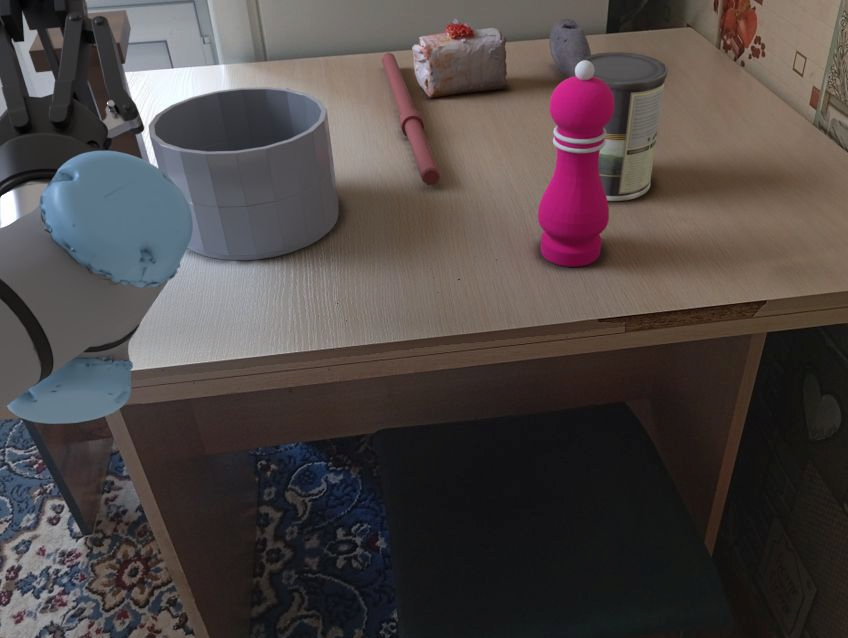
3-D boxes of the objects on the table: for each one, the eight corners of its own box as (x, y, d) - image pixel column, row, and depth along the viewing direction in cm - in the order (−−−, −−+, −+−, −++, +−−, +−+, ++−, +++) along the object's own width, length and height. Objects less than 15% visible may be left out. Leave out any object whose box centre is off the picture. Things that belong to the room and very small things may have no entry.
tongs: (14, -32, 64) (10, -20, 62) (56, -35, 64) (53, -24, 63) (79, 145, 75) (78, 159, 73) (115, 141, 75) (114, 154, 74)
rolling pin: (444, 187, 96) (443, 163, 94) (418, 190, 95) (417, 166, 93) (398, 68, 131) (397, 48, 129) (379, 69, 130) (378, 50, 128)
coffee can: (575, 204, 92) (584, 84, 83) (559, 166, 100) (566, 53, 91) (661, 199, 92) (680, 79, 84) (638, 162, 100) (653, 49, 92)
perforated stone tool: (597, 90, 121) (601, 43, 117) (564, 92, 121) (566, 45, 117) (576, 59, 133) (580, 16, 129) (546, 60, 133) (548, 17, 128)
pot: (157, 263, 83) (125, 156, 75) (197, 185, 97) (174, 89, 90) (330, 257, 83) (315, 150, 76) (345, 181, 97) (333, 85, 90)
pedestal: (104, 199, 94) (44, 16, 82) (173, 190, 96) (125, 9, 83) (97, 248, 85) (28, 51, 72) (173, 237, 87) (119, 42, 74)
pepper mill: (558, 228, 87) (570, 43, 75) (616, 247, 84) (639, 57, 72) (523, 256, 83) (530, 64, 70) (583, 277, 79) (602, 80, 67)
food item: (423, 102, 118) (420, 34, 112) (412, 84, 124) (408, 19, 118) (510, 92, 121) (511, 26, 115) (494, 75, 127) (495, 11, 121)
